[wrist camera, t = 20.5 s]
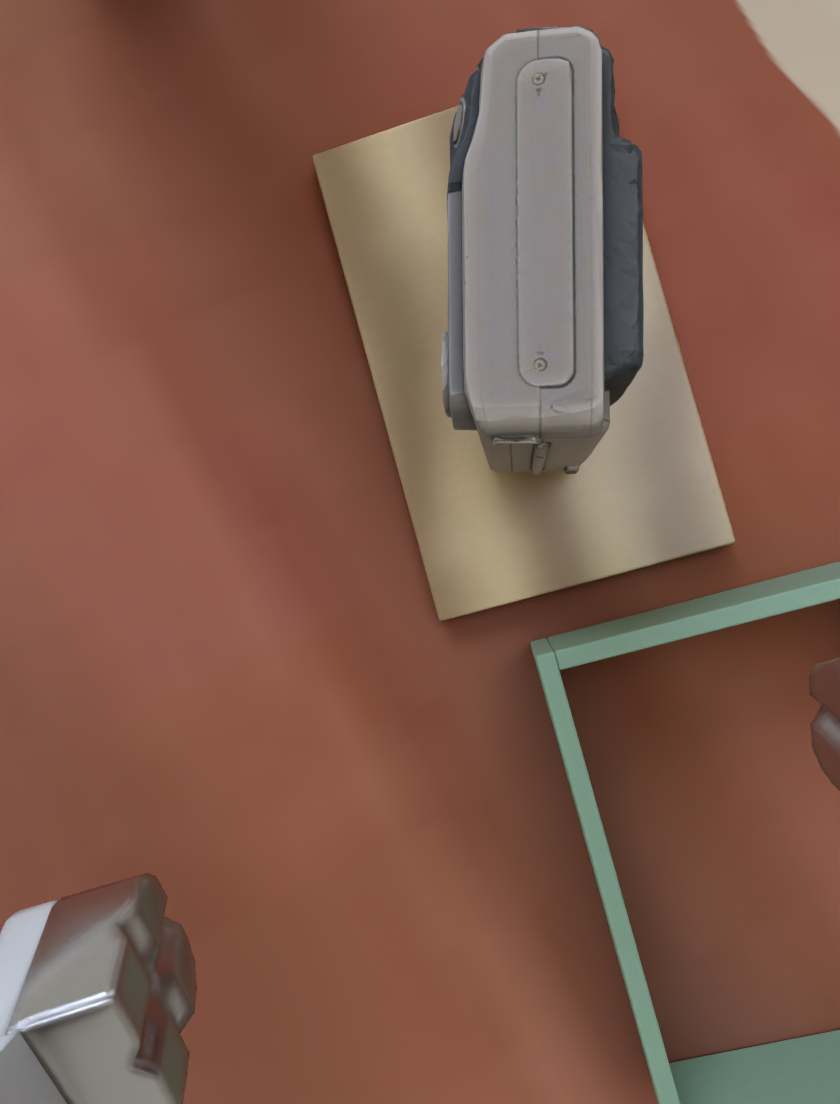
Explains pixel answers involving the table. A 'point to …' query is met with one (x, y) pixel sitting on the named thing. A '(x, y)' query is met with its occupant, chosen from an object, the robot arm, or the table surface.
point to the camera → (541, 252)
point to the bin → (684, 1086)
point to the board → (457, 455)
